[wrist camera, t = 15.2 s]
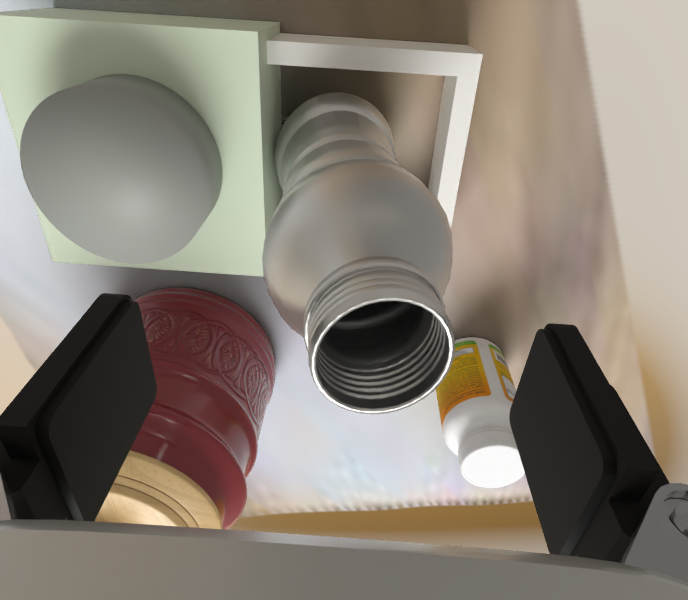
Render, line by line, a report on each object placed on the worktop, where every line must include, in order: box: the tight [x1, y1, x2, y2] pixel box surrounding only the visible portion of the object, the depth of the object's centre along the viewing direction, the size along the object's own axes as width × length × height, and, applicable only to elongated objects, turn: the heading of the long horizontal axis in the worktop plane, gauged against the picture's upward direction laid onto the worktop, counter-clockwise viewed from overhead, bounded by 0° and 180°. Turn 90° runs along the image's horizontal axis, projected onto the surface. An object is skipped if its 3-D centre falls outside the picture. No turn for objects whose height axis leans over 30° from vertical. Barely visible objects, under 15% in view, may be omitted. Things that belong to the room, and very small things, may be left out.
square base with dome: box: [0, 8, 483, 277], centre depth 25 cm, size 12×22×9 cm, turn 87°
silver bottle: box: [262, 92, 455, 414], centre depth 20 cm, size 6×7×20 cm
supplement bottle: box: [436, 337, 525, 488], centre depth 34 cm, size 5×5×10 cm
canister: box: [94, 287, 275, 530], centre depth 31 cm, size 13×13×18 cm
